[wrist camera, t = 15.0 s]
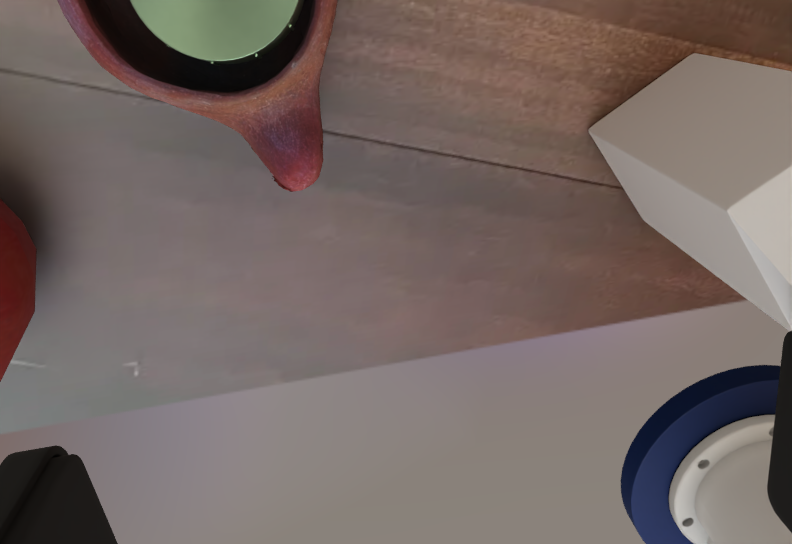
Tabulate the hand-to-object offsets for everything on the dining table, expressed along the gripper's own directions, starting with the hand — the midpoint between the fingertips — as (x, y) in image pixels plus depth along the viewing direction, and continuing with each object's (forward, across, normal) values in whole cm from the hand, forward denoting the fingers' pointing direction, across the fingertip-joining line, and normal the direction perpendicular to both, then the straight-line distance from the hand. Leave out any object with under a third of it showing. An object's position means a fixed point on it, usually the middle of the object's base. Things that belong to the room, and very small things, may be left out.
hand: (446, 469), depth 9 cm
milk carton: (+31, -18, +5) cm, 36 cm away
